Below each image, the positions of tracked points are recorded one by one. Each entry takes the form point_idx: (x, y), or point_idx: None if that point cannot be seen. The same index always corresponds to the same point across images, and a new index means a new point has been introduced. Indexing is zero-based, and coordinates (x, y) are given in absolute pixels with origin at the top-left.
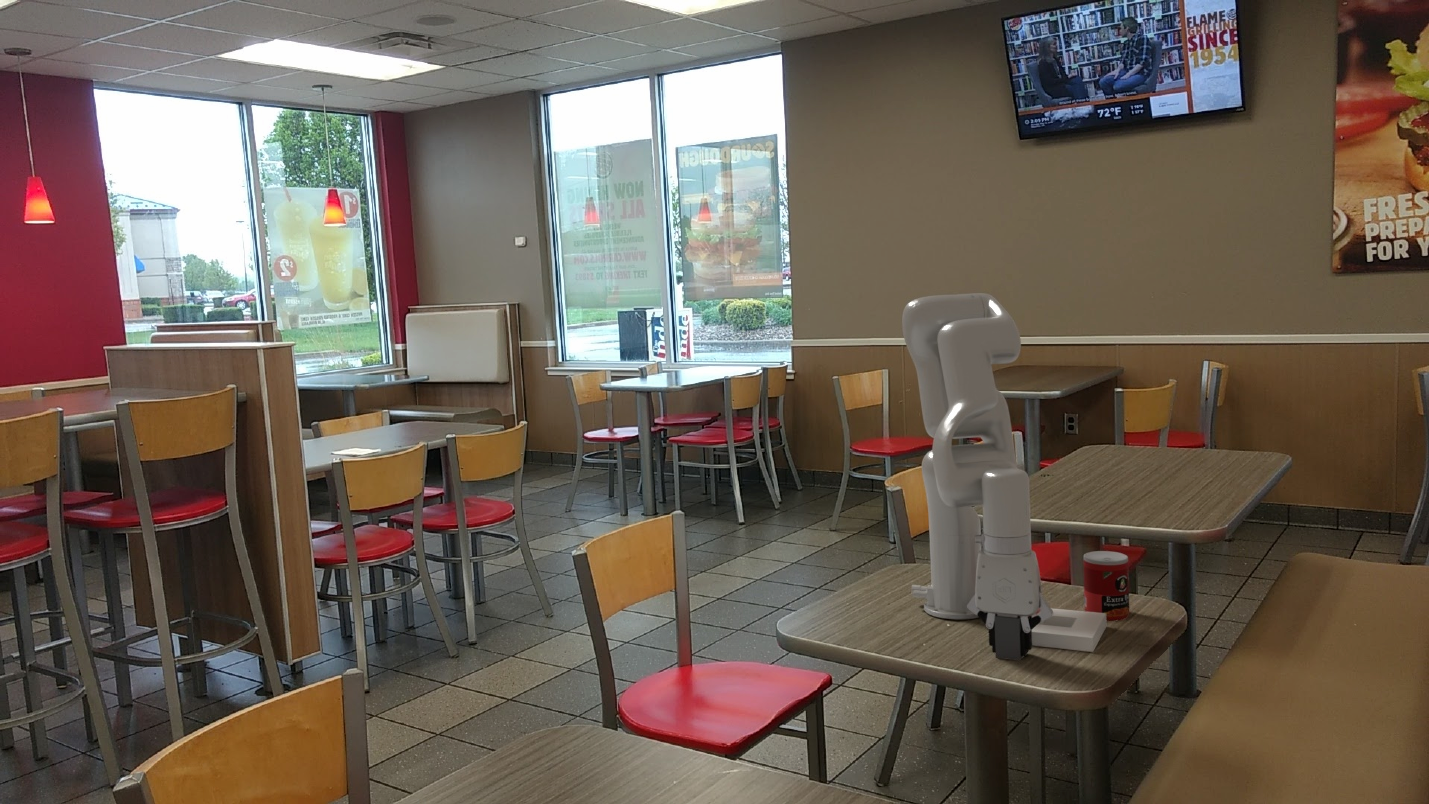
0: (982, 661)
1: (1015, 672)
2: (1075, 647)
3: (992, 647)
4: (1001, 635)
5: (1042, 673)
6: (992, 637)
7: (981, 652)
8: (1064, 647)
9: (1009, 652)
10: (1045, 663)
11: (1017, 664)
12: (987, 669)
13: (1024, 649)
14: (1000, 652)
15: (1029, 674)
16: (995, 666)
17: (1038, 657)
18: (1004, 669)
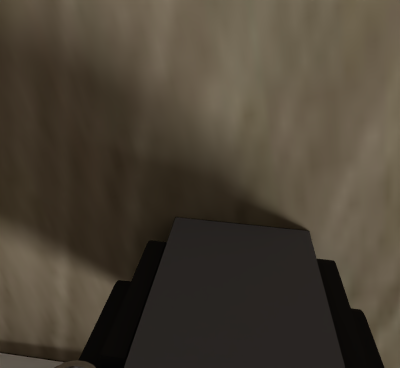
0: (387, 161)
1: (156, 18)
2: (1, 363)
3: (338, 278)
4: (284, 338)
5: (7, 53)
6: (353, 333)
7: (390, 286)
8: (44, 364)
9: (229, 245)
10: (53, 206)
11: (177, 161)
12: (351, 18)
13: (140, 264)
14: (284, 249)
15: (66, 8)
16: (299, 95)
17: (108, 270)
18: (235, 55)
